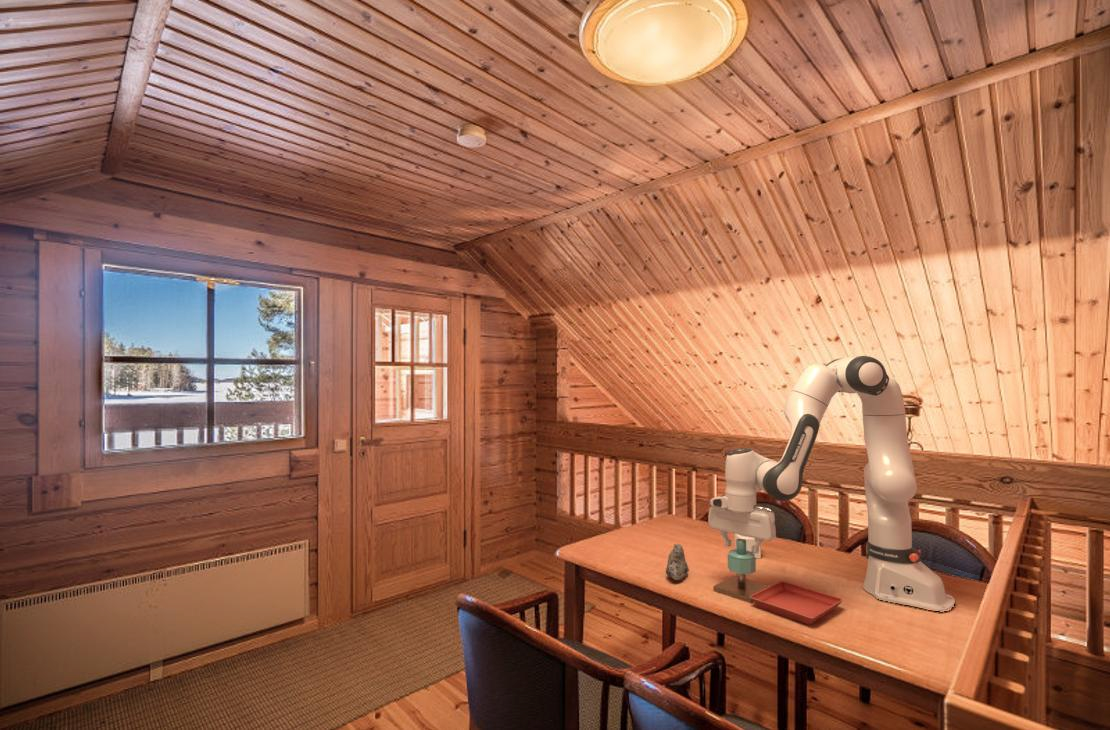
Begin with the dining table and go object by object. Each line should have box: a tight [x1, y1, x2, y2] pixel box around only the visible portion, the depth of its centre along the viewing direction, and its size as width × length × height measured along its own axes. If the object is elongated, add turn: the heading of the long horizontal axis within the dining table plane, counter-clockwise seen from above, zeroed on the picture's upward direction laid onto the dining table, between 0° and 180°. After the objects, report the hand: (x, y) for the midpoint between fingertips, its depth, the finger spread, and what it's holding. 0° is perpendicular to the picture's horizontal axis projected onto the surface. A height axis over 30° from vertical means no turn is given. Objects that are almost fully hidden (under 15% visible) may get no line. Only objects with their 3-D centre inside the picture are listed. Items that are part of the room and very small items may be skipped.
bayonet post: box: [712, 573, 771, 604], centre depth 161 cm, size 12×12×10 cm
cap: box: [727, 539, 757, 575], centre depth 162 cm, size 7×7×9 cm
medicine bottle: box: [734, 533, 762, 559], centre depth 193 cm, size 7×7×12 cm
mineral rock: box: [665, 543, 690, 581], centre depth 174 cm, size 13×11×10 cm
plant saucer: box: [750, 581, 843, 625], centre depth 150 cm, size 18×18×3 cm
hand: (741, 549), depth 162 cm, fingers open, 7 cm apart
